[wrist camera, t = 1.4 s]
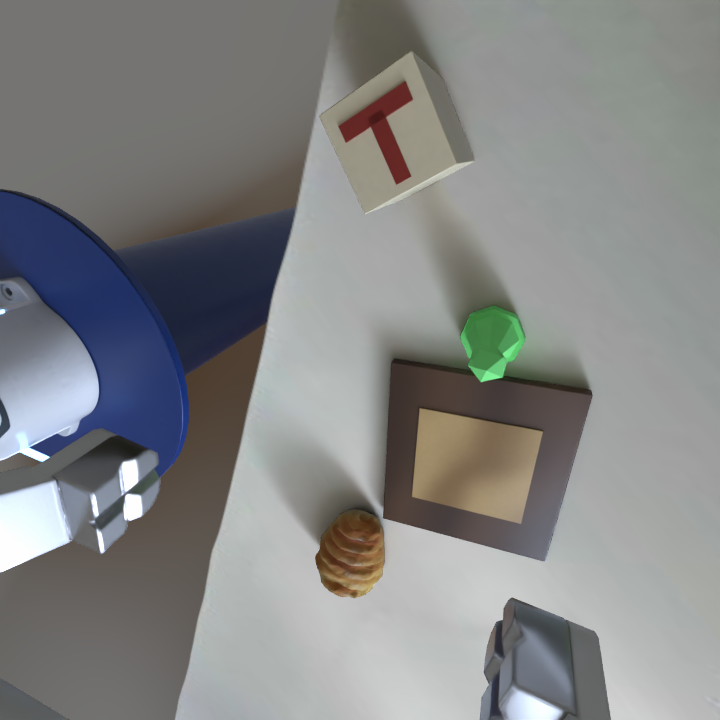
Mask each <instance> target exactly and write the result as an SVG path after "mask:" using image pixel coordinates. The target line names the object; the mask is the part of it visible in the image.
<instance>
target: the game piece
mask: <svg viewBox="0 0 720 720" xmlns="http://www.w3.org/2000/svg"><path fill="white" fill-rule="evenodd" d="M460 339H461V341H462V343H463V346H464V348H465V350H466V353H467V355H468V358H470V360H469V363H468V366H469V368H470V369H471V370H472V372H473V373H474V374H475V375H476V377H477V378H478V379H479V381H480V382H483V381H488V380H493V379H497V378H502V377H503V374H504V371H505V368H506V364H507V362H510V361H514V359H515V357H516V356H517V354H518V352H519V350H520V349H521V347H522V345H523V343H524V342H525V334H524V332H523V329H522V326H521V324H520V321H519V319H518V316H517V315H516V314H514V313H512V312H509V311H507V310H504V309H502V308H499V307H497V306H495V305H493V306H490V307H488V308H485V309H482V310H479V311H476V312H473V313H471V314H470V316H469V318H468V320H467V322H466V324H465V327H464V329H463V331H462V333H461V335H460Z"/></svg>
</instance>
